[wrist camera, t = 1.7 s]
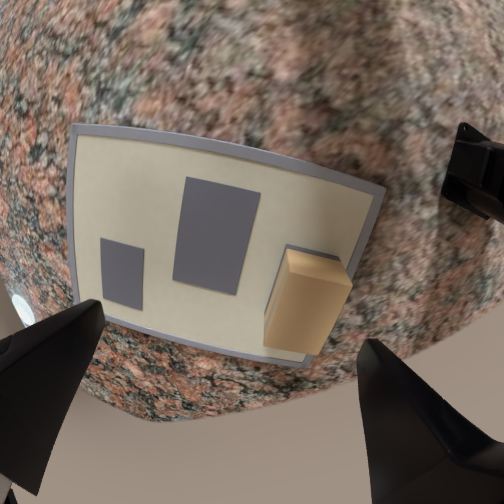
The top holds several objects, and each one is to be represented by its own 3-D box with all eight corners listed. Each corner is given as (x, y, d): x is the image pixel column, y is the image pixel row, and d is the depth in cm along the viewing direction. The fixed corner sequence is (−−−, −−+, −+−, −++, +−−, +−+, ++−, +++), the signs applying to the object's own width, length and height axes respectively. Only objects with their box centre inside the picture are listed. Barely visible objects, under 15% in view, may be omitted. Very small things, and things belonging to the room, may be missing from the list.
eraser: (339, 256, 19) (353, 285, 16) (311, 321, 22) (318, 355, 18) (285, 243, 19) (289, 271, 15) (264, 311, 22) (262, 346, 18)
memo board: (382, 185, 18) (387, 188, 17) (306, 362, 25) (307, 369, 24) (77, 123, 17) (71, 123, 16) (79, 304, 24) (75, 309, 23)
